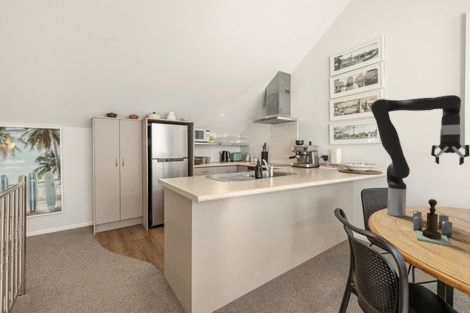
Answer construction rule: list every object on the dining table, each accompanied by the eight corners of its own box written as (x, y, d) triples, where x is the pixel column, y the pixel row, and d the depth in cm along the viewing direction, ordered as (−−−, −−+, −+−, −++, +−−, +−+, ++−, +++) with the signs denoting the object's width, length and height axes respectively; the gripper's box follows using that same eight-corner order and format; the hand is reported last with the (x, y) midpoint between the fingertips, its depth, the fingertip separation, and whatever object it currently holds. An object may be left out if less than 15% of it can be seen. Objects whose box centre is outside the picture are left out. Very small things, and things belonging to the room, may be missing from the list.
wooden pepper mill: (436, 235, 102) (437, 198, 102) (444, 240, 96) (446, 201, 95) (419, 233, 104) (420, 197, 104) (426, 238, 98) (427, 200, 98)
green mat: (416, 239, 99) (417, 237, 99) (416, 231, 108) (416, 230, 108) (450, 246, 92) (450, 244, 92) (446, 237, 101) (446, 236, 101)
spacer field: (413, 231, 109) (413, 217, 109) (412, 222, 121) (413, 210, 121) (452, 238, 100) (453, 223, 100) (447, 228, 112) (448, 215, 112)
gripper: (432, 134, 114) (431, 164, 114) (471, 133, 105) (470, 165, 105) (431, 134, 120) (430, 163, 120) (468, 133, 111) (467, 164, 111)
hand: (449, 164), depth 113 cm, fingers open, 8 cm apart
